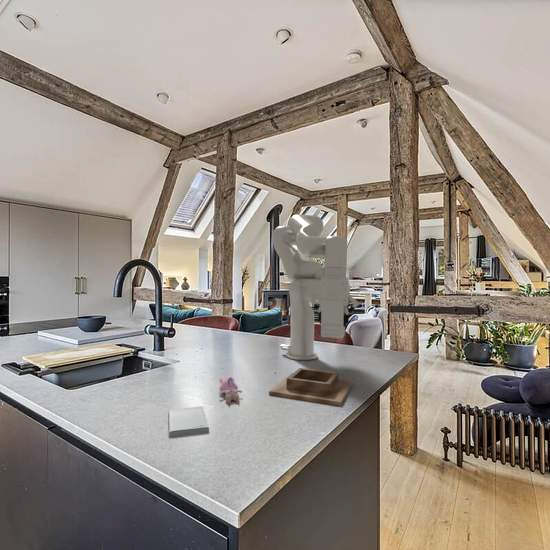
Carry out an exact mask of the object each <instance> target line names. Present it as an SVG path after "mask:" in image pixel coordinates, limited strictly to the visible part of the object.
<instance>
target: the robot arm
mask: <svg viewBox="0 0 550 550" xmlns="http://www.w3.org/2000/svg"><path fill="white" fill-rule="evenodd" d="M323 230H324V222H323V219H322V218H321V217H320V216H318V215H311V214H295V215H293V216H291V217H290V218H289V221H288V225H281V226H276V227H275V229H273V232H272V244H273V247H274V251H275V252H276V253H277V255H278V257H279V258H280V261H281V262H282V263H281V264H282V265H283V269H284V272H285V274H286V277H287V278H288V280H289V281H290V284H289V287H288V294H289V301H290V341H289V342H290V343H289V344H288V345H287V344H281V345H280V350H282V351H287V352H286V353H285V354H286V357H287V358H288V359H291V360H298V361H311V360H315V359H317V358H318V353H316V352H315V351H314V350H315V349H314V348H315V346H314V345H315V312H314V311H315V310H316V311H317V313H318V322H319V325H321V306H322V303H321V300H338V301H344V312H345V314H344V325H343V326H345V328H346V327H347V326H348V325H349V324H350V323H349V322H350V314H351V313H352V312H354V310H355V309H356V308H357V307H358V306H359V303H360V302H358V301H357V300H356V299H355V298H354V297H353V296H351V294H350V293H351V292H350V289H351V288H350V281H349V277H347V267H348V265H347V263H348V238H347V237H345V236H340V235H331V236H320V235H321V234H322V232H323ZM294 246H296V247H294ZM301 255H303V256H305V257H307V258H311V259H312V258H317V259H324V262H323V263H324V265H322V264H321V263H320V262H318V261H317V260H305V259H302V256H301ZM323 266H324V267H323ZM310 303H311V304H312V306H313V307H314V309H315V310H314V309H313V308H312V306H311V304H310ZM350 303H352V306H351V307H350V308H349V305H350Z"/></svg>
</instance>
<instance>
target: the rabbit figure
mask: <svg viewBox="0 0 550 550" xmlns="http://www.w3.org/2000/svg"><path fill="white" fill-rule="evenodd" d="M218 379H219V383H220V387H219V391H220V392H219V395H222V394H225V401H226V402H227V404H228V405H229V404H232V401H233V402H236V403H238V404H239V403H241V401H240V395H239V393H243V390H239V389H238V388H239V387H238V385H237V384H236V382H235V378H234V376H232V375H228V376H227V377H225V376H220V377H219V378H218Z"/></svg>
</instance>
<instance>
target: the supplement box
mask: <svg viewBox="0 0 550 550" xmlns="http://www.w3.org/2000/svg"><path fill="white" fill-rule="evenodd" d="M321 303H322V306H321V324H320V337H321V338H330V339H342V340H343V338H344V336H345V335H346V327H345V326H343V325H344V314H345V312H344V301H338V300H321Z"/></svg>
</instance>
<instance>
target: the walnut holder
mask: <svg viewBox="0 0 550 550" xmlns="http://www.w3.org/2000/svg"><path fill="white" fill-rule="evenodd" d="M339 376H340V374H339V372H336V371H327V370H318V369H311V368H305V367H304V368H303V367H299V368H298V369H297V370H295V371H294V372H291V373H290V374H288V376H286V377H284V379H282V380H281V381H280V382H279V383H277V384H276V385H275V386H273V387H272V388H271V389H270V390H269V391H268V395H269V396H274V397H280V398H287V399H295V400H300V401H305V402H306V401H307V402H313V403H319V404H325V403H326V404H325V405H331V404H332V406H337V405H338V406H339V407H341V406H342V404H343V403H342V402H344V401H345V399H346V397H347V396H348V393H349V392H350V391H351V389H350V388H352V386H353V385H354V380H350V379H343V378H340V377H339ZM346 395H347V396H346Z"/></svg>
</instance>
